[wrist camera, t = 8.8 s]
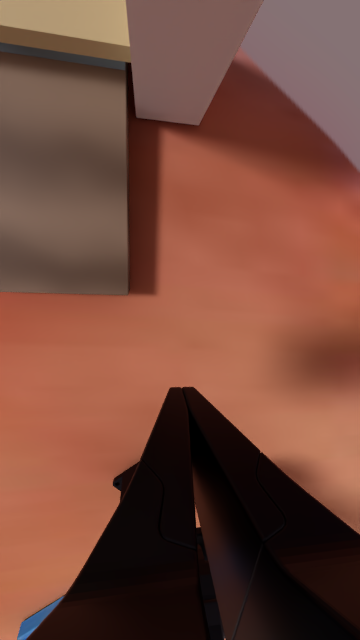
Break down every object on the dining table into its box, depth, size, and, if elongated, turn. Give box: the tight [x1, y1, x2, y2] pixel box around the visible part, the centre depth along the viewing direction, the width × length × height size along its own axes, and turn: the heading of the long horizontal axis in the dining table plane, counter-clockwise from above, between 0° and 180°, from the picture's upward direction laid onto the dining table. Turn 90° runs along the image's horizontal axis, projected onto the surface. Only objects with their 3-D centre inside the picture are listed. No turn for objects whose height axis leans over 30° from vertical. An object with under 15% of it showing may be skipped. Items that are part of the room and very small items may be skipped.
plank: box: [0, 42, 130, 295], centre depth 15 cm, size 15×10×2 cm, turn 176°
